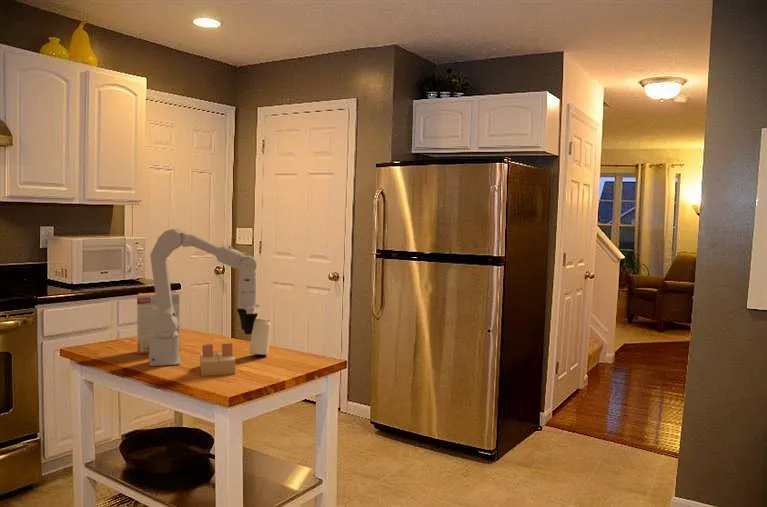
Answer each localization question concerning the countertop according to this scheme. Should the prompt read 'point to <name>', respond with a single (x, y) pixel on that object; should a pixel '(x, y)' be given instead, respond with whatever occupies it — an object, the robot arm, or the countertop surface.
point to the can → (260, 337)
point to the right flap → (226, 353)
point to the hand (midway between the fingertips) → (246, 331)
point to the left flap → (208, 354)
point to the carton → (217, 367)
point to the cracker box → (150, 319)
